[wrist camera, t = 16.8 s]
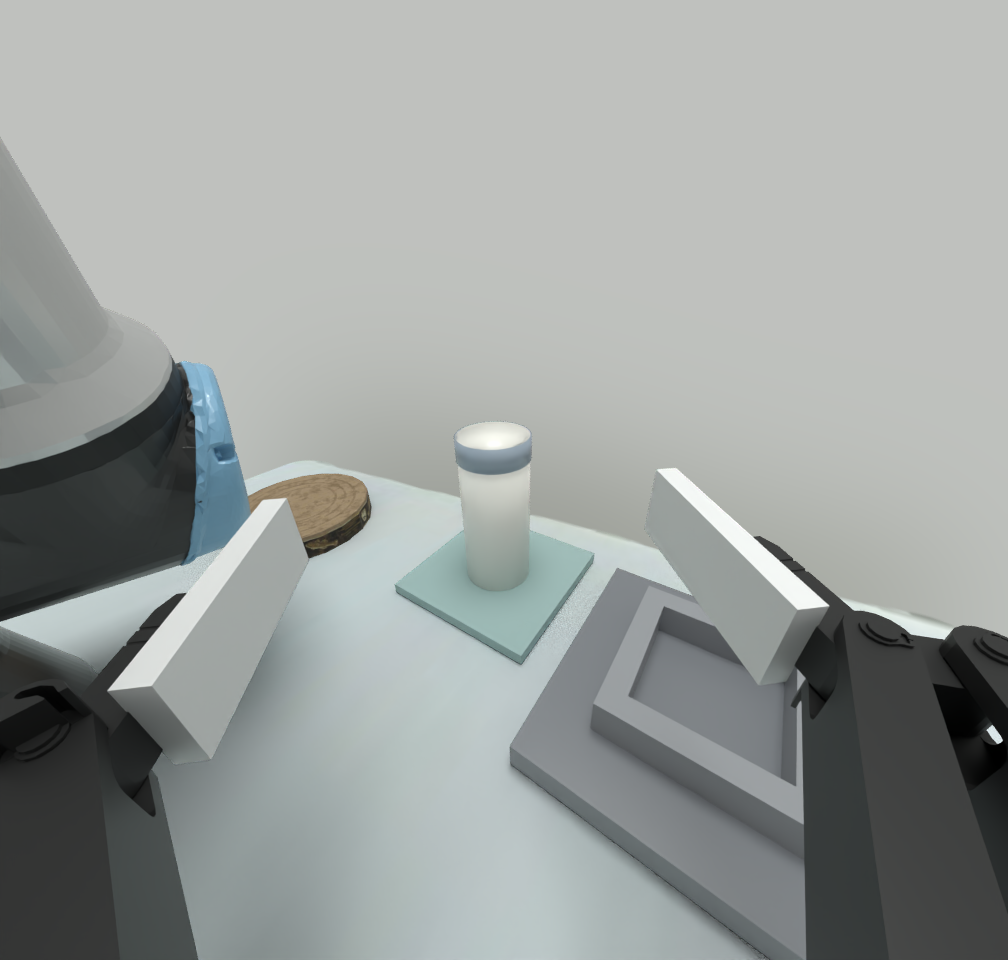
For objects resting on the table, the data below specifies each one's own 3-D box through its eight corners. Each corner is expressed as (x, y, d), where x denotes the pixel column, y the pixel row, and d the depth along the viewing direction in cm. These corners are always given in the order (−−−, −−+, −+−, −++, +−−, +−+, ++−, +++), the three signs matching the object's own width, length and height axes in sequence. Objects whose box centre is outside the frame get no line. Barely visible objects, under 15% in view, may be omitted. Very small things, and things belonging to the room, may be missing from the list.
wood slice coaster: (321, 482, 57) (316, 464, 55) (398, 509, 49) (394, 489, 48) (205, 540, 45) (194, 519, 44) (282, 587, 38) (272, 563, 36)
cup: (453, 574, 36) (437, 439, 29) (491, 541, 41) (485, 416, 34) (506, 602, 33) (502, 457, 26) (541, 562, 37) (546, 429, 31)
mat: (396, 592, 36) (394, 584, 35) (484, 520, 46) (484, 513, 45) (521, 664, 29) (520, 656, 28) (593, 561, 39) (594, 553, 38)
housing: (510, 764, 23) (508, 721, 21) (614, 584, 36) (620, 546, 34) (920, 1073, 14) (992, 1054, 12) (862, 681, 27) (891, 638, 25)
